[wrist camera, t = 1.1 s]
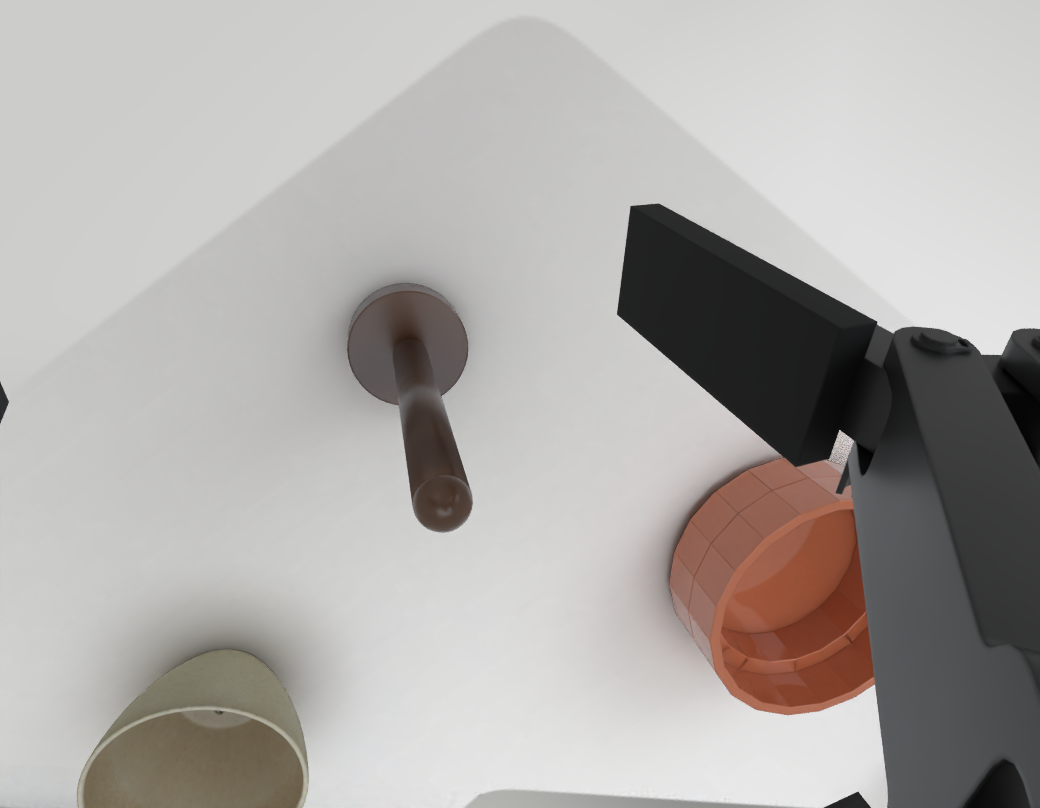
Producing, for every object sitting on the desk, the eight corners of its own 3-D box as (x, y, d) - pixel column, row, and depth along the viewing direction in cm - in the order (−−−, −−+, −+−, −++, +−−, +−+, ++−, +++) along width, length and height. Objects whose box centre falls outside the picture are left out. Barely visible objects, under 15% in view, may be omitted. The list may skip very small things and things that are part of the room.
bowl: (683, 456, 40) (735, 505, 34) (893, 449, 43) (971, 493, 37) (652, 656, 44) (693, 727, 39) (843, 636, 48) (906, 700, 42)
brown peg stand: (346, 281, 32) (329, 417, 16) (464, 284, 34) (560, 413, 17) (349, 393, 34) (336, 617, 18) (461, 392, 35) (543, 600, 19)
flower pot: (349, 700, 41) (346, 806, 34) (196, 779, 40) (164, 902, 34) (256, 579, 37) (232, 673, 30) (85, 665, 36) (24, 780, 30)
